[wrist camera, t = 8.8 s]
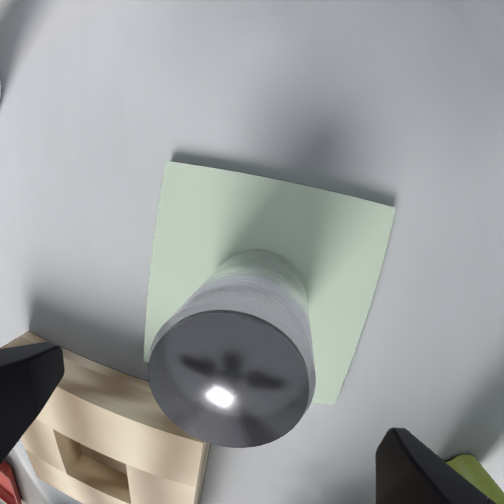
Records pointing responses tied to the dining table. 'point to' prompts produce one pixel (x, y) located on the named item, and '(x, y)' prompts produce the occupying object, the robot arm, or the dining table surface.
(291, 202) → the mat
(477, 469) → the plant pot
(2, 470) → the plant saucer
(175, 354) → the grey metallic cylinder
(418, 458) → the robot arm
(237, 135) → the dining table surface
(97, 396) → the housing
